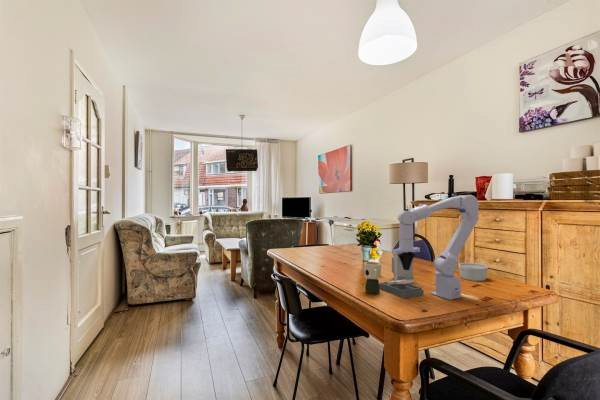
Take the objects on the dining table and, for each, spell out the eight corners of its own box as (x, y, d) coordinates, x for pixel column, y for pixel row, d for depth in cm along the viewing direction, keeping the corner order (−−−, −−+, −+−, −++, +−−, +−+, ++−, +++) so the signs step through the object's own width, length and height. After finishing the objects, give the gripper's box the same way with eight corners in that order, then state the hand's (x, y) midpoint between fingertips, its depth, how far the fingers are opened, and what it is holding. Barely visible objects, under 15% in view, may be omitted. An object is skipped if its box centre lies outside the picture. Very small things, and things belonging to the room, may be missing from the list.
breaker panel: (423, 294, 128) (423, 287, 128) (405, 298, 123) (405, 291, 123) (395, 285, 142) (395, 278, 142) (378, 288, 137) (378, 281, 137)
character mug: (361, 289, 136) (361, 260, 136) (376, 288, 136) (376, 260, 137) (367, 296, 125) (367, 266, 125) (384, 296, 126) (384, 265, 126)
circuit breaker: (405, 278, 155) (405, 249, 155) (413, 285, 141) (413, 254, 141) (391, 277, 156) (391, 249, 156) (397, 285, 142) (397, 254, 142)
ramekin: (492, 282, 146) (492, 268, 146) (463, 281, 149) (463, 267, 149) (481, 276, 159) (481, 263, 160) (455, 275, 162) (455, 262, 162)
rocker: (413, 282, 129) (413, 278, 130) (403, 284, 127) (403, 280, 127) (397, 283, 138) (396, 279, 138) (387, 284, 135) (386, 281, 136)
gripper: (410, 236, 136) (411, 266, 136) (387, 238, 130) (387, 269, 130) (423, 238, 130) (423, 269, 130) (399, 240, 123) (399, 273, 123)
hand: (406, 269), depth 129 cm, fingers closed
